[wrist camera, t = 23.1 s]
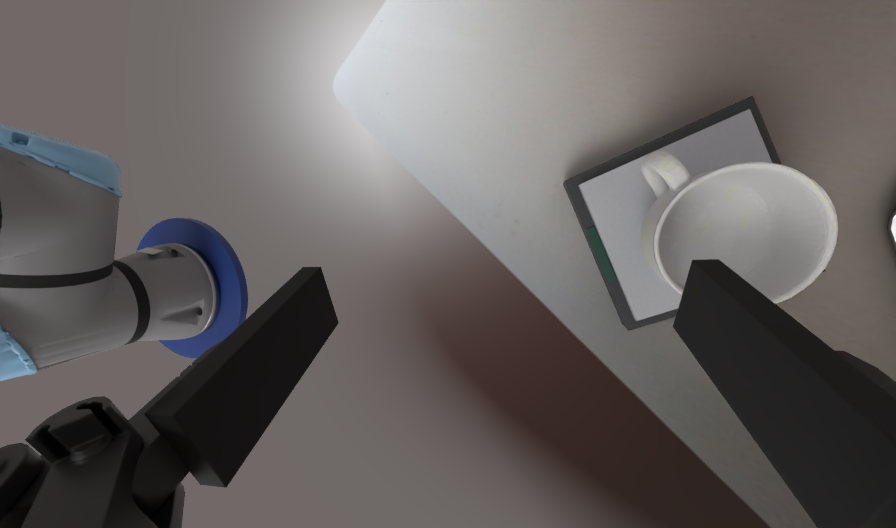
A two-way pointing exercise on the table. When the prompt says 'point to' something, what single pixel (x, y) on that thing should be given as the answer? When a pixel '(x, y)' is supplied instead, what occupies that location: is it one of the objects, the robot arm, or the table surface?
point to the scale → (630, 197)
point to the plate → (892, 229)
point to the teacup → (738, 224)
